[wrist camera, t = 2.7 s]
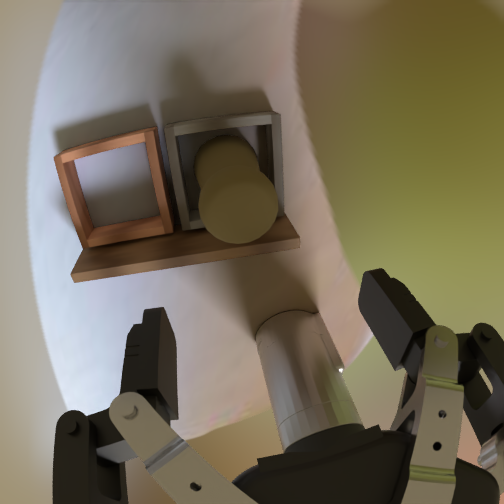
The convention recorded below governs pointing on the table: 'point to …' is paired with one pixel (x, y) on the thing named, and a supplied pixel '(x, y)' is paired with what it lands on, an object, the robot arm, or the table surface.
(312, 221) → the table surface
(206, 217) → the cork
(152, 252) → the shaker rack
